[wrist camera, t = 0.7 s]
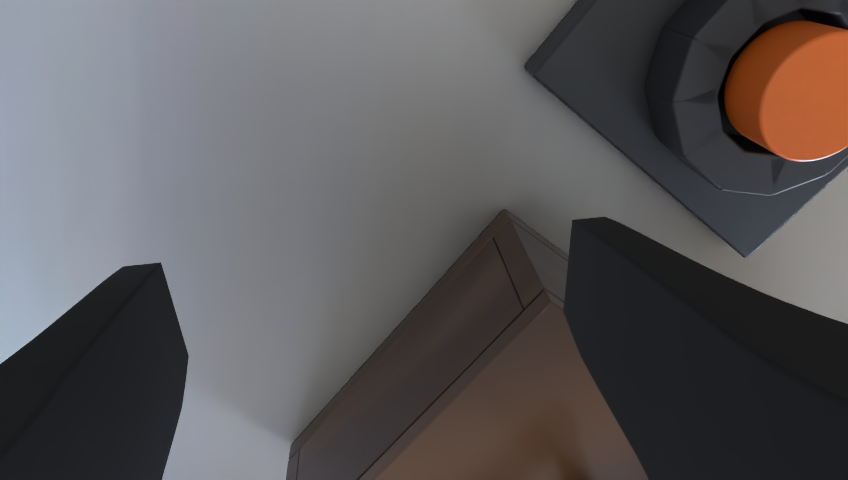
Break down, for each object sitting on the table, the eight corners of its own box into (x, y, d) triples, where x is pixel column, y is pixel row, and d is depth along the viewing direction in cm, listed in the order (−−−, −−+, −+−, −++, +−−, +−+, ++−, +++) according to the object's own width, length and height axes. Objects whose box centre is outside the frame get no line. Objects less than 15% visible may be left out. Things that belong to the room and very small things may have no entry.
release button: (864, 71, 17) (915, 88, 15) (769, 162, 18) (808, 186, 16) (796, -8, 16) (844, 0, 14) (698, 94, 17) (733, 112, 15)
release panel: (926, 58, 19) (1016, 81, 17) (727, 243, 22) (778, 288, 19) (732, -186, 16) (806, -206, 13) (522, 66, 18) (549, 92, 16)
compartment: (720, 367, 25) (799, 466, 20) (507, 549, 28) (534, 665, 24) (503, 207, 20) (543, 287, 16) (290, 445, 24) (274, 562, 20)
